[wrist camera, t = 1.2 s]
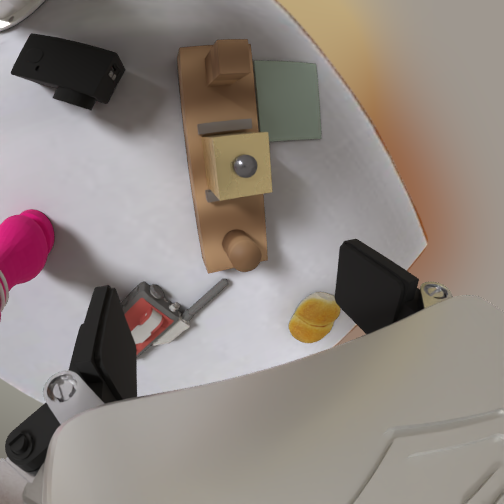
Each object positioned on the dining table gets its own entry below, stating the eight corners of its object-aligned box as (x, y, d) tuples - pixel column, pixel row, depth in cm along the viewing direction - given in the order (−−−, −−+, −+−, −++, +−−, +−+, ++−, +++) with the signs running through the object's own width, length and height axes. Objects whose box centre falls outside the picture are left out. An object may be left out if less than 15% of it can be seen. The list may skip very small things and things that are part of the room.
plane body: (176, 58, 24) (185, 25, 15) (239, 53, 25) (273, 25, 17) (202, 258, 34) (219, 303, 25) (256, 246, 36) (289, 285, 27)
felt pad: (253, 61, 26) (254, 60, 26) (314, 64, 28) (315, 63, 28) (260, 142, 30) (261, 142, 30) (319, 138, 32) (321, 138, 32)
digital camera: (31, 92, 19) (3, 85, 13) (52, 49, 18) (29, 32, 12) (103, 114, 24) (87, 108, 18) (125, 69, 22) (116, 52, 16)
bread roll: (279, 333, 44) (289, 349, 40) (303, 287, 41) (316, 301, 38) (318, 336, 47) (329, 350, 44) (341, 294, 45) (355, 307, 41)
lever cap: (201, 137, 25) (214, 137, 19) (245, 131, 26) (271, 132, 20) (207, 186, 27) (221, 202, 21) (250, 179, 28) (275, 193, 22)
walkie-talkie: (136, 362, 38) (230, 279, 37) (137, 383, 34) (239, 297, 33) (90, 333, 34) (183, 236, 33) (86, 354, 30) (187, 251, 29)
